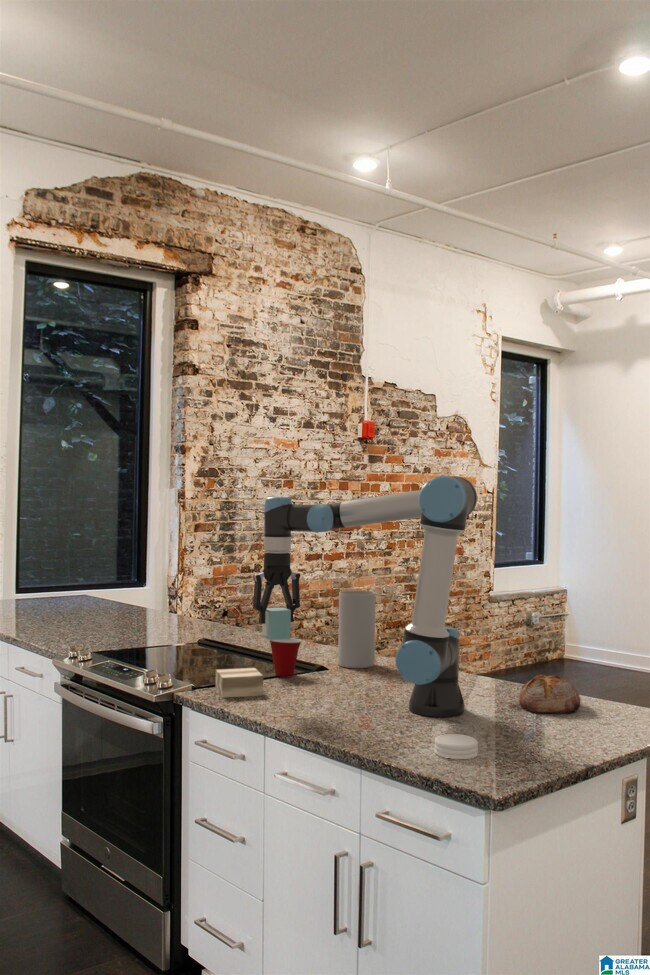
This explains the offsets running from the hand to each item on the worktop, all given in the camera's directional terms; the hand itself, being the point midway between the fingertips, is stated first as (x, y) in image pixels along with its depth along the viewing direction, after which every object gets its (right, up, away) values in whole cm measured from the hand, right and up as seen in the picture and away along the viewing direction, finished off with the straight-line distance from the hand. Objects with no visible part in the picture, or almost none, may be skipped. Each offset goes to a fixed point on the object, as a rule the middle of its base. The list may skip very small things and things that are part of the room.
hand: (276, 634), depth 246 cm
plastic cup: (+1, -20, +38) cm, 43 cm away
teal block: (0, -1, 0) cm, 1 cm away
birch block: (-12, -20, +14) cm, 27 cm away
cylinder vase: (+24, -20, +56) cm, 64 cm away
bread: (+77, -21, +1) cm, 80 cm away
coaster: (+44, -21, -44) cm, 65 cm away
